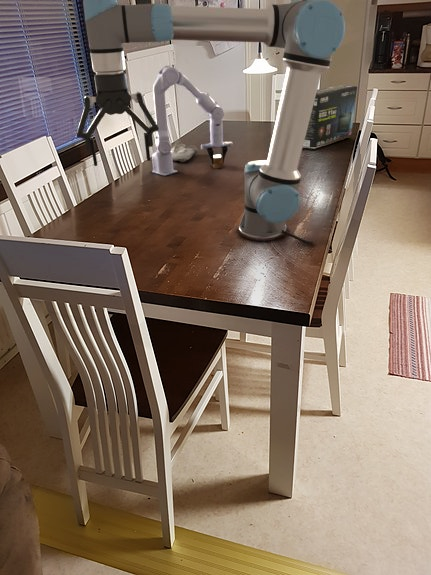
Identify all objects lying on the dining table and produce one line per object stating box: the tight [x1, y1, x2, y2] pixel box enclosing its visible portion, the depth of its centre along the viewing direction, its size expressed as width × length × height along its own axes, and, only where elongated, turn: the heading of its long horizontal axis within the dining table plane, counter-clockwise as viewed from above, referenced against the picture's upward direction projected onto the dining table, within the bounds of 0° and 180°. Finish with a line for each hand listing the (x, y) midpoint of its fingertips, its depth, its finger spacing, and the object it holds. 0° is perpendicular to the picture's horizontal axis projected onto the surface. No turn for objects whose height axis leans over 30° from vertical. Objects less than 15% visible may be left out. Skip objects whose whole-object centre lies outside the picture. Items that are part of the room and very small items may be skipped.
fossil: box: [171, 142, 199, 163], centre depth 229 cm, size 18×11×15 cm
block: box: [211, 154, 224, 169], centre depth 214 cm, size 4×5×5 cm
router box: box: [303, 84, 358, 151], centre depth 238 cm, size 36×11×27 cm, turn 134°
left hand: (217, 163), depth 214 cm, fingers closed on block, 4 cm apart
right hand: (122, 162), depth 119 cm, fingers open, 13 cm apart
